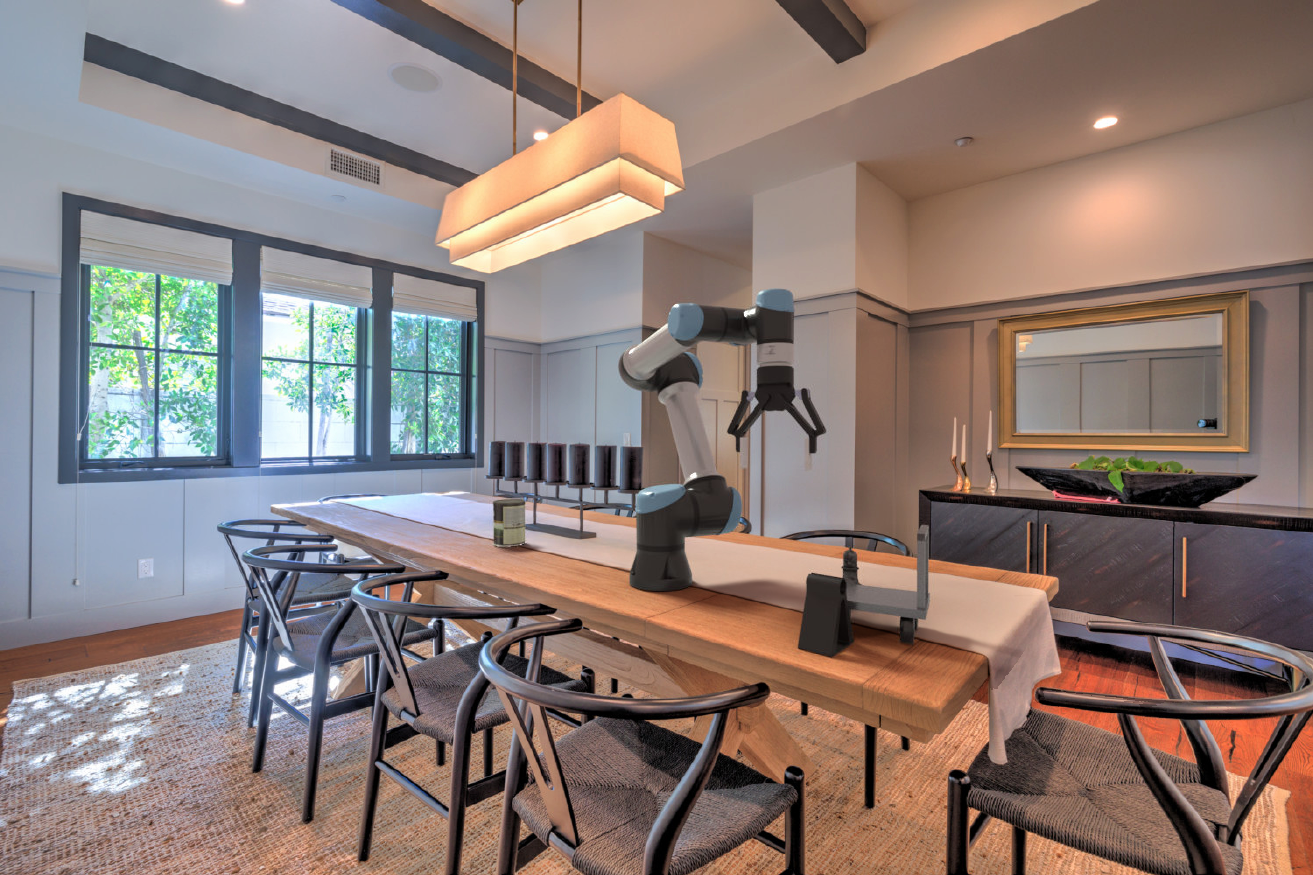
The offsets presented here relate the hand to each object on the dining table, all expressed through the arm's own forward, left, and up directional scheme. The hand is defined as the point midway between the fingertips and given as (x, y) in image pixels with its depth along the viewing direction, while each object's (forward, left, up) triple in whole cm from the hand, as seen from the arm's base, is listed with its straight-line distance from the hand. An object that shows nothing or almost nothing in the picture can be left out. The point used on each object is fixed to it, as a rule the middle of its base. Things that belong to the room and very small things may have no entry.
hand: (775, 469), depth 121 cm
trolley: (+20, -5, -29) cm, 35 cm away
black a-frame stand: (+14, -17, -29) cm, 36 cm away
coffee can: (-96, +26, -29) cm, 104 cm away
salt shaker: (+13, +11, -29) cm, 34 cm away
